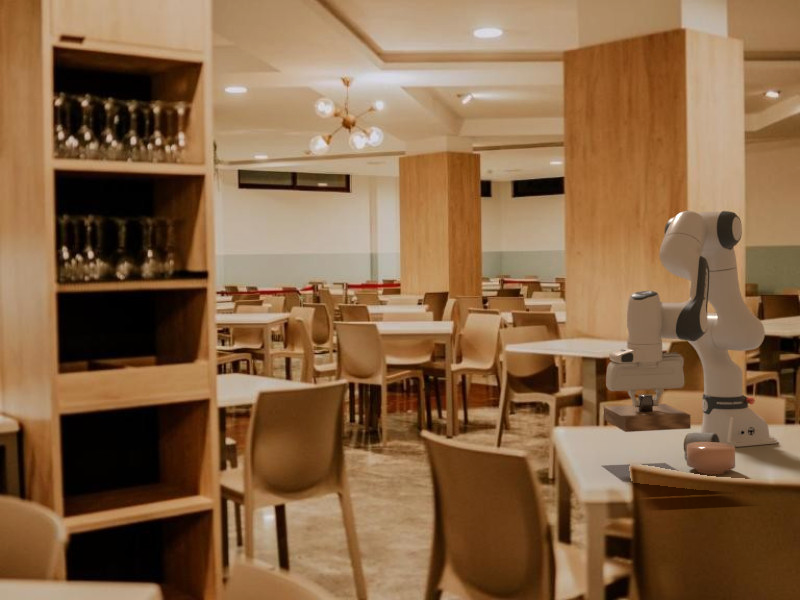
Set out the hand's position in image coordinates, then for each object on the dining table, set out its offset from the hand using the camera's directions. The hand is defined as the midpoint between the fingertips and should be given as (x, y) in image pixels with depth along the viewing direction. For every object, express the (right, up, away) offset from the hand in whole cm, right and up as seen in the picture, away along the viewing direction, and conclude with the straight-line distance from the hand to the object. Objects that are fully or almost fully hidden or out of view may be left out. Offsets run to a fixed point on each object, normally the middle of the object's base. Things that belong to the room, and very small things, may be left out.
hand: (645, 406), depth 242 cm
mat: (0, -18, +1) cm, 18 cm away
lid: (0, -5, 0) cm, 5 cm away
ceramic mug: (+19, -17, +16) cm, 30 cm away
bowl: (+17, -18, 0) cm, 25 cm away
